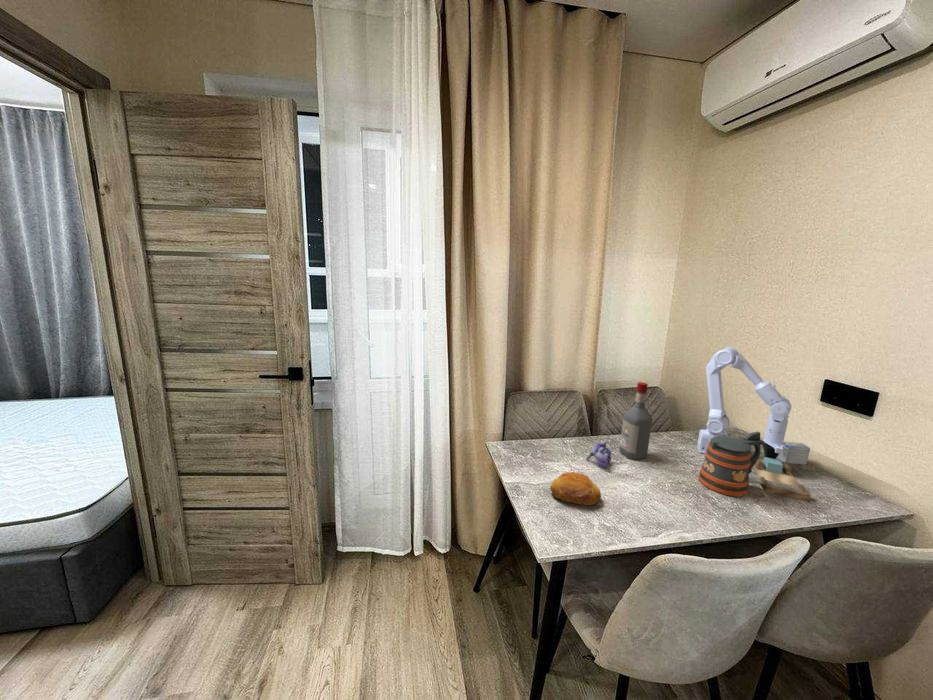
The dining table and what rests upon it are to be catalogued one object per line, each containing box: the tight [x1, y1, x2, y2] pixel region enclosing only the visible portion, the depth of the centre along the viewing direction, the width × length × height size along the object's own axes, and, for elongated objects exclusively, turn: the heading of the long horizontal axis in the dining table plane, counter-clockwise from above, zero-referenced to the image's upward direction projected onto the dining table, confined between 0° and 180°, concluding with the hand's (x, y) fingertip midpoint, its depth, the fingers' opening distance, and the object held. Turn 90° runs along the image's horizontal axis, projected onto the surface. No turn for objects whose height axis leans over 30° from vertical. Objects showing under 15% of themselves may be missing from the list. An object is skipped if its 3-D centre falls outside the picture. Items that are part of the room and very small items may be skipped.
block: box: [762, 456, 783, 474], centre depth 144 cm, size 4×5×4 cm
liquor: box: [618, 381, 653, 461], centre depth 153 cm, size 9×9×30 cm
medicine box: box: [777, 441, 811, 465], centre depth 152 cm, size 8×4×9 cm, turn 84°
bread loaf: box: [549, 471, 602, 506], centre depth 126 cm, size 14×16×8 cm
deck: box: [752, 457, 812, 503], centre depth 141 cm, size 12×26×4 cm, turn 157°
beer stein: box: [698, 431, 765, 497], centre depth 134 cm, size 19×15×20 cm
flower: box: [586, 441, 612, 469], centre depth 146 cm, size 9×9×10 cm
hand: (768, 463), depth 148 cm, fingers closed
